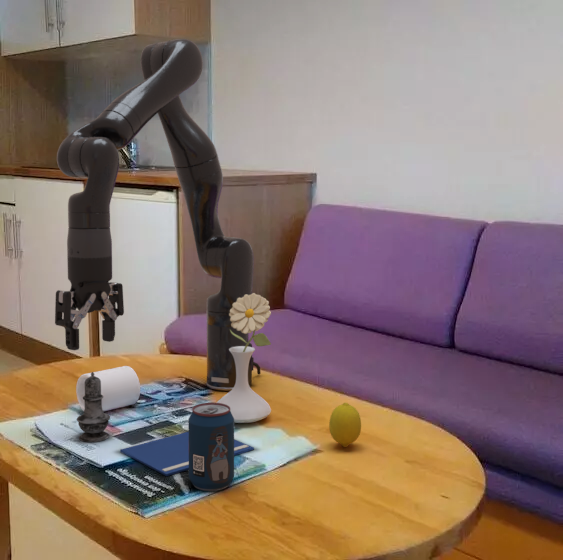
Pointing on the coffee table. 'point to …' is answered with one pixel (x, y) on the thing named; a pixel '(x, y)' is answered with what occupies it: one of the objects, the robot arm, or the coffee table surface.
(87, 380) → the dark grey turned piece
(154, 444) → the blue notebook
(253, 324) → the flower in vase
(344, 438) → the lemon
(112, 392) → the mug
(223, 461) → the soda can
